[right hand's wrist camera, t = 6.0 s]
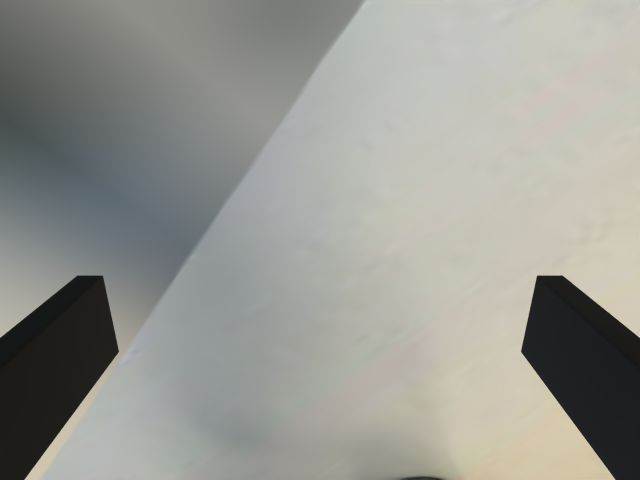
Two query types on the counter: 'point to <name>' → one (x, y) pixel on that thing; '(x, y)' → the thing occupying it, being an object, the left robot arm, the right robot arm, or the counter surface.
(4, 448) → the right robot arm
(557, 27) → the counter surface
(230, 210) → the counter surface
